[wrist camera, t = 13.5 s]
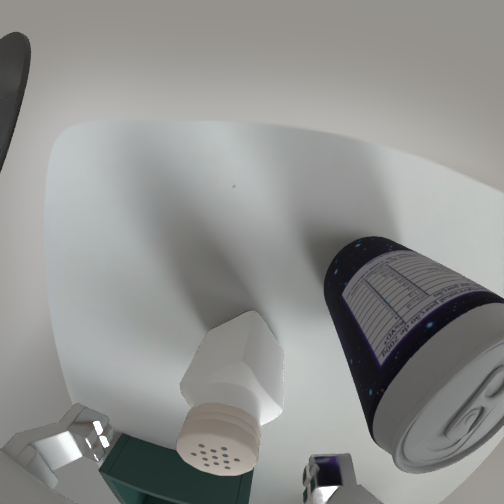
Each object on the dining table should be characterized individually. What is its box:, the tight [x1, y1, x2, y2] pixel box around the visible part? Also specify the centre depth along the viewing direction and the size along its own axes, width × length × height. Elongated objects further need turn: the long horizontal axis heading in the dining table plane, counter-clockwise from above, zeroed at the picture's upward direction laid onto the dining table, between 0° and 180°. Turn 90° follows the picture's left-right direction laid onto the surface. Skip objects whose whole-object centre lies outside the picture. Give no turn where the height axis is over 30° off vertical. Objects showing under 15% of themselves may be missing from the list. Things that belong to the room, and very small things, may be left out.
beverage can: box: [324, 236, 504, 474], centre depth 10 cm, size 6×6×12 cm
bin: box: [99, 433, 254, 504], centre depth 20 cm, size 14×14×6 cm
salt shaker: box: [176, 310, 284, 476], centre depth 13 cm, size 4×4×10 cm
